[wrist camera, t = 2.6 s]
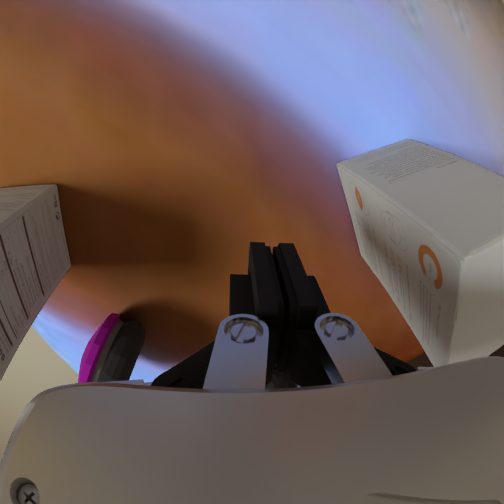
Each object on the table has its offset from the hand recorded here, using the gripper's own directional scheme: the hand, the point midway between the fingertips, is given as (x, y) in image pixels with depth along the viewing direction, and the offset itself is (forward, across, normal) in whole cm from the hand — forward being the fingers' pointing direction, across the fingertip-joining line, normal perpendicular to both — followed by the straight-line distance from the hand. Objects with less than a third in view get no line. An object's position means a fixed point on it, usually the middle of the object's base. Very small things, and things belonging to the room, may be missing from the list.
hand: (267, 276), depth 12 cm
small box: (+9, -10, -1) cm, 14 cm away
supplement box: (+9, +18, +2) cm, 20 cm away
